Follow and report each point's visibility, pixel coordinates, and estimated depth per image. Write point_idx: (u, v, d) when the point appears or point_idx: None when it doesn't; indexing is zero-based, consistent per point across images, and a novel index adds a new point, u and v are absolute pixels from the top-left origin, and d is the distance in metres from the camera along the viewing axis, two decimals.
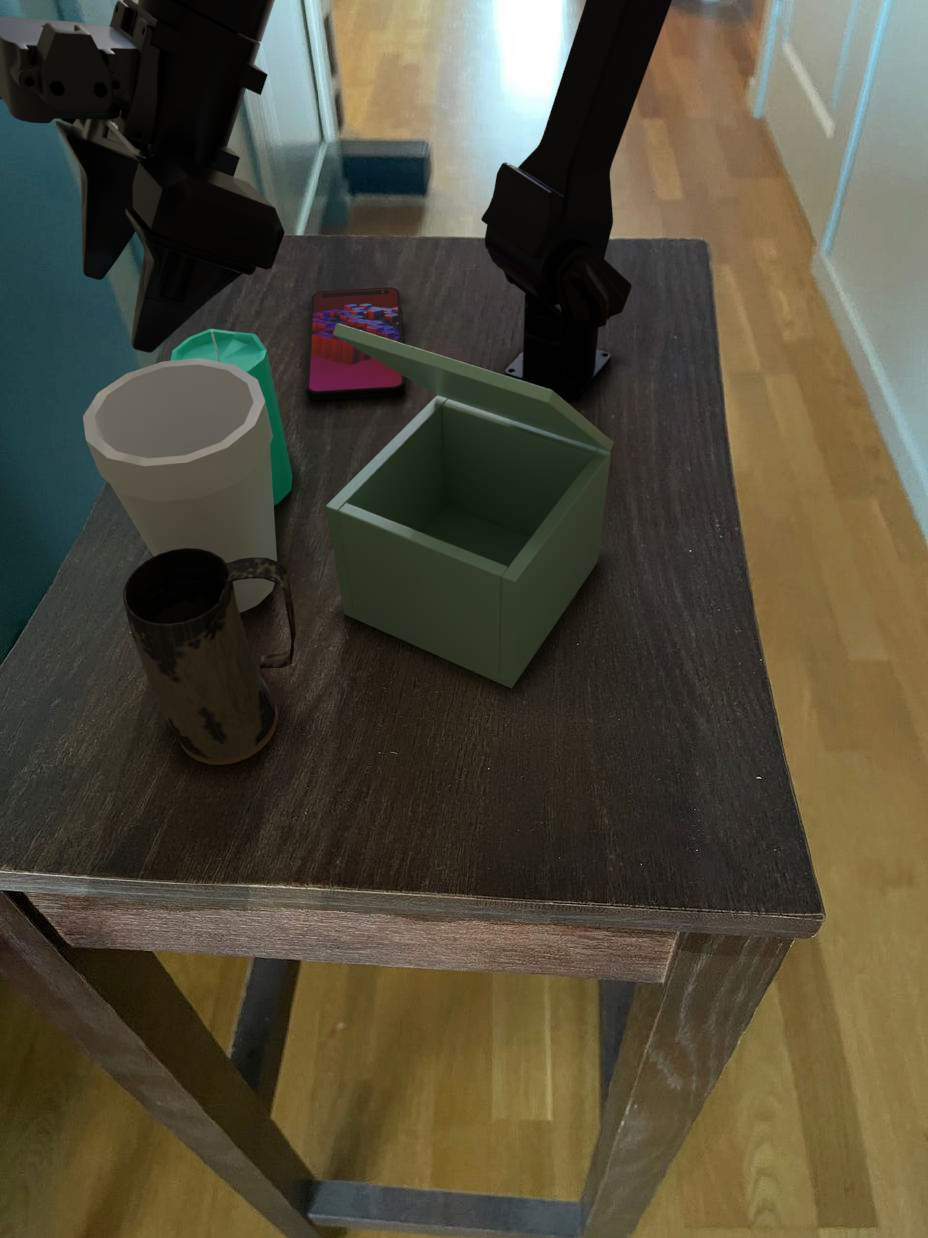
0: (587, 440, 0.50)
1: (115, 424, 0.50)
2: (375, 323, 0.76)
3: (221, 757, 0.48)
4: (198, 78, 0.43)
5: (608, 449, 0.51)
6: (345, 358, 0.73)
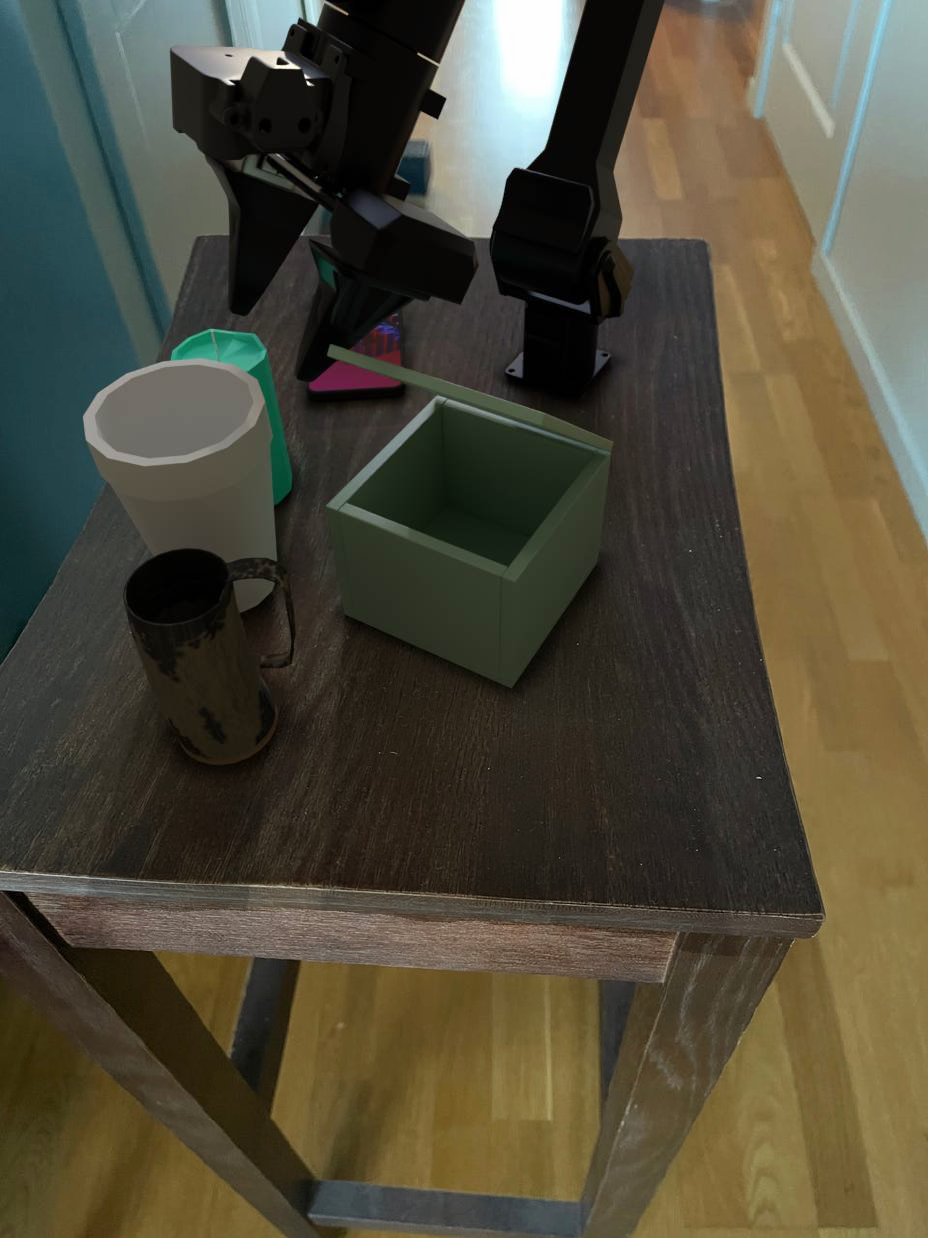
0: (586, 444, 0.50)
1: (115, 424, 0.50)
2: None
3: (221, 757, 0.48)
4: (385, 106, 0.41)
5: (608, 450, 0.51)
6: None
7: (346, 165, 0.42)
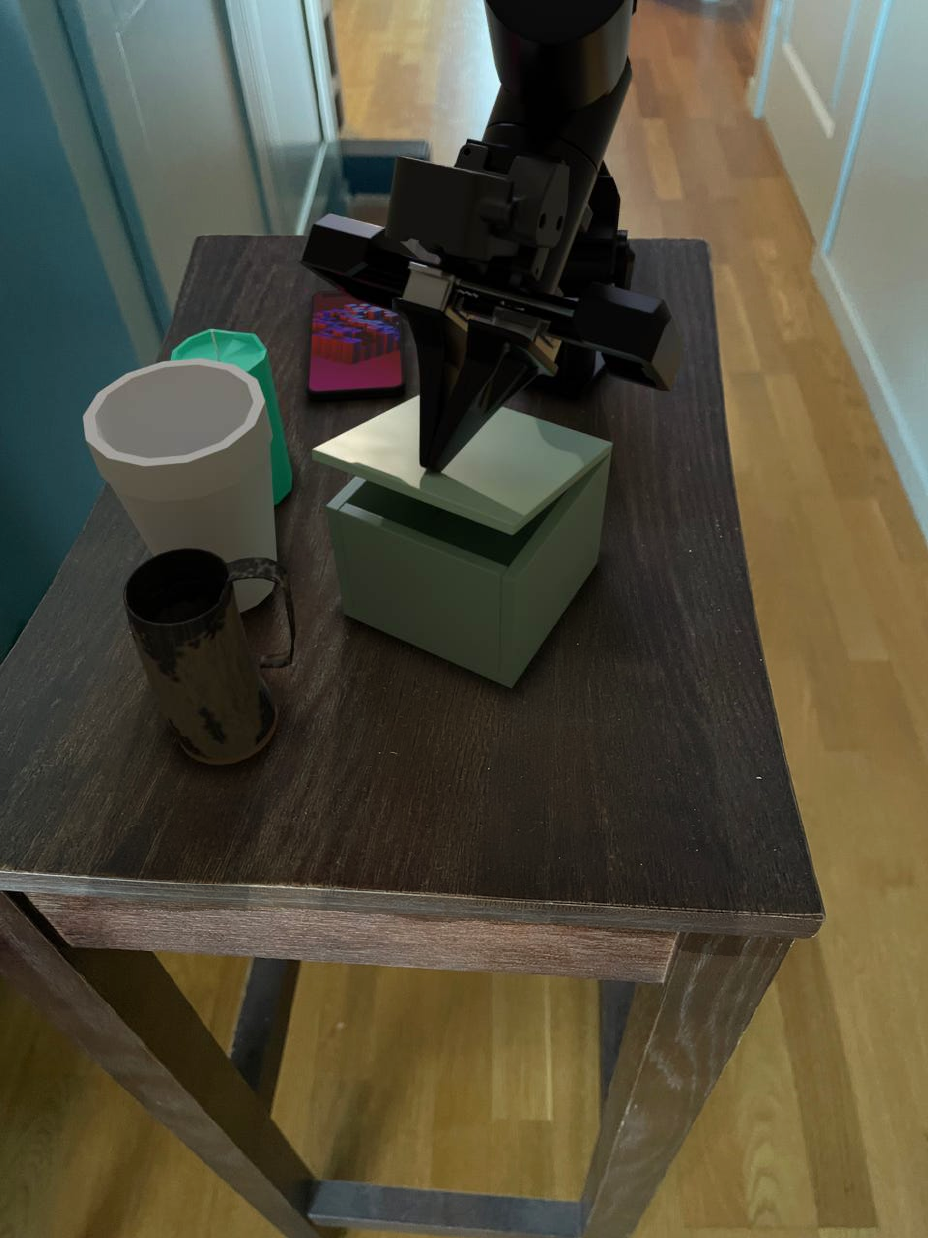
0: None
1: (115, 424, 0.50)
2: (375, 323, 0.76)
3: (221, 757, 0.48)
4: (572, 215, 0.42)
5: (607, 454, 0.51)
6: (345, 358, 0.73)
7: None
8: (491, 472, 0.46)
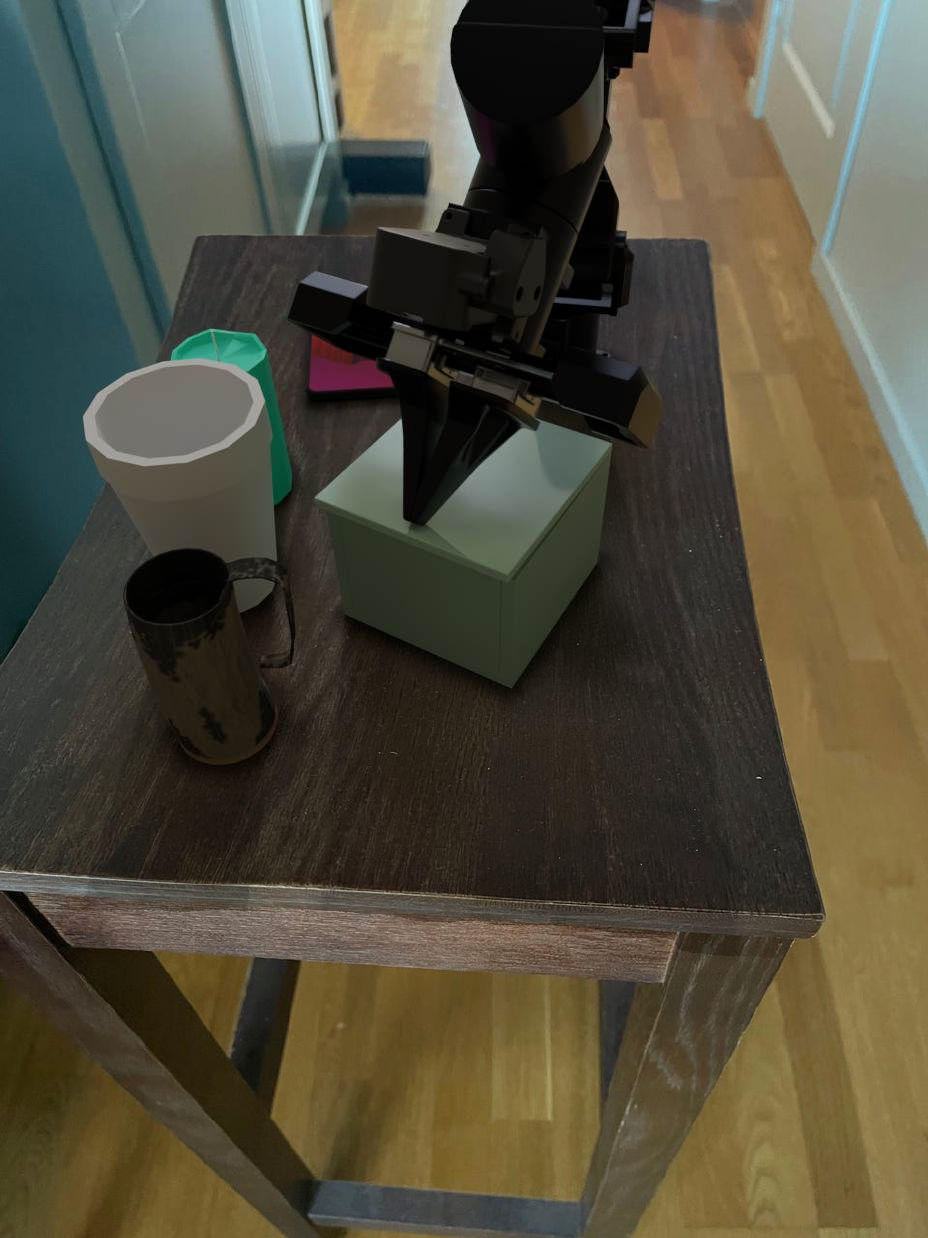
0: None
1: (115, 424, 0.50)
2: None
3: (221, 757, 0.48)
4: (552, 277, 0.43)
5: (607, 455, 0.51)
6: (345, 358, 0.73)
7: (521, 333, 0.43)
8: (487, 505, 0.47)
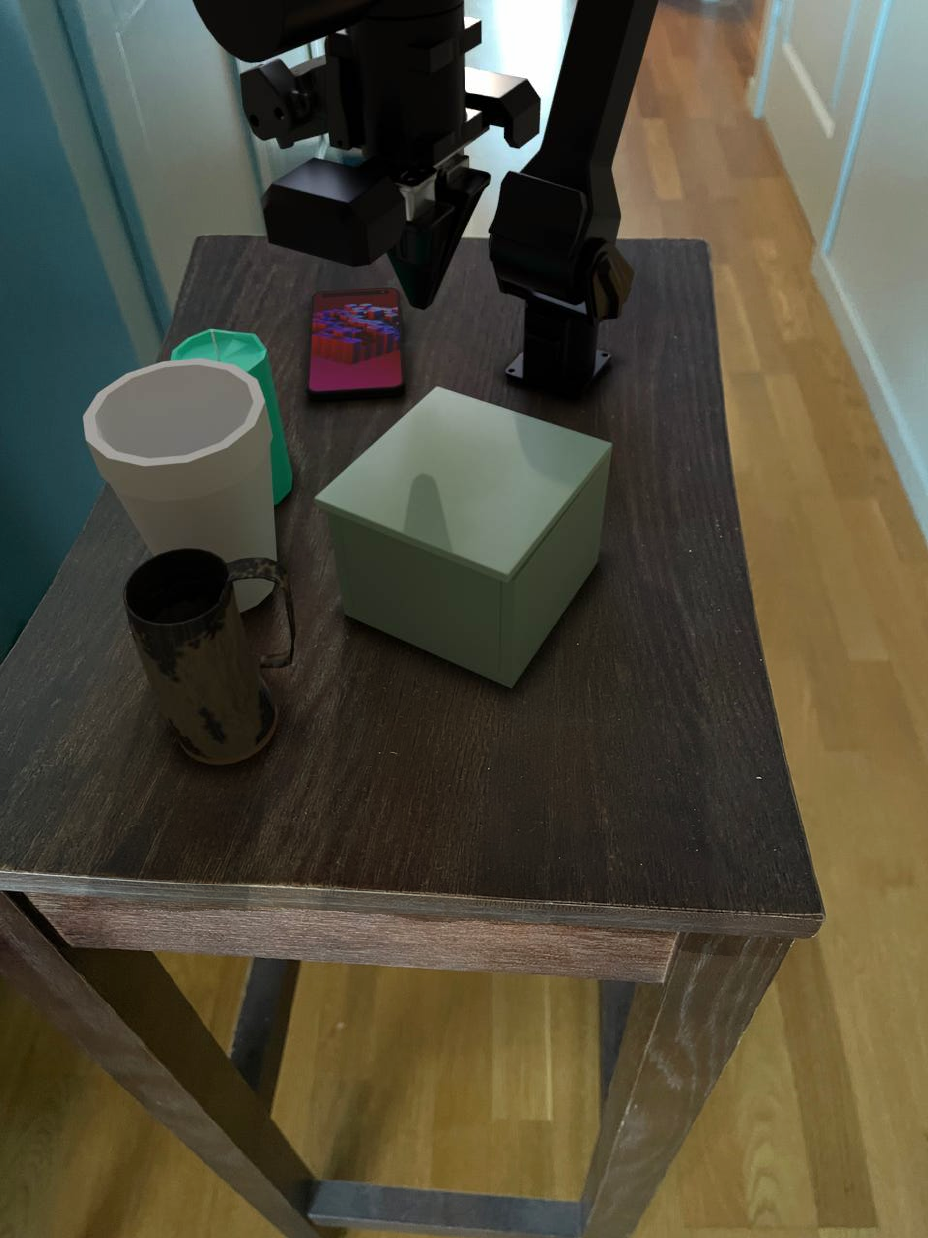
0: None
1: (115, 424, 0.50)
2: (375, 323, 0.76)
3: (221, 757, 0.48)
4: (366, 76, 0.43)
5: (607, 455, 0.51)
6: (345, 358, 0.73)
7: (362, 137, 0.46)
8: (487, 505, 0.48)
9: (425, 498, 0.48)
